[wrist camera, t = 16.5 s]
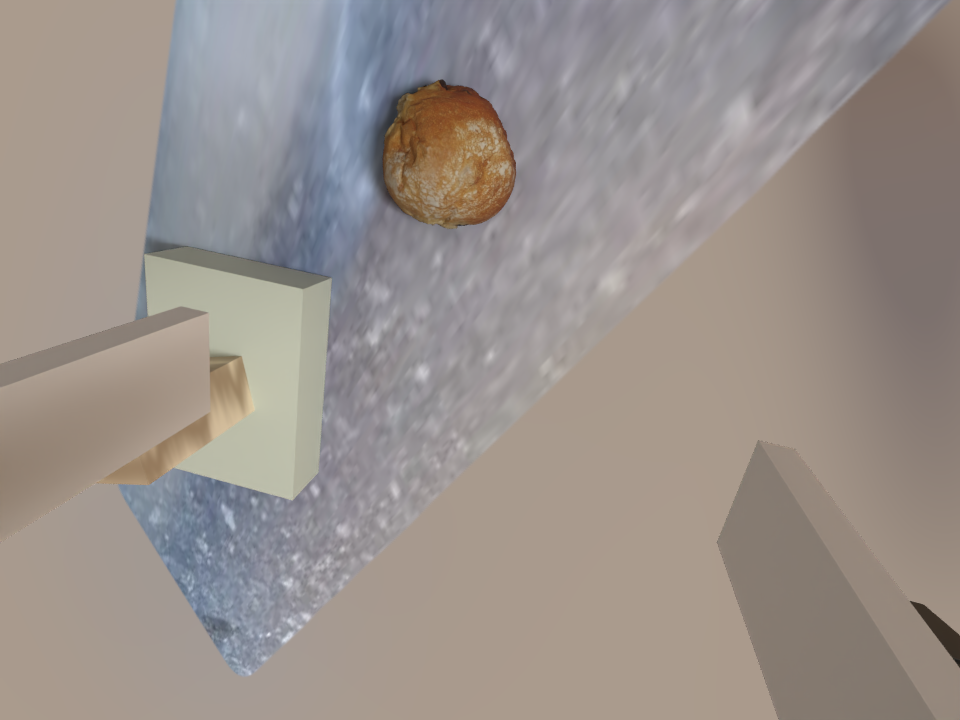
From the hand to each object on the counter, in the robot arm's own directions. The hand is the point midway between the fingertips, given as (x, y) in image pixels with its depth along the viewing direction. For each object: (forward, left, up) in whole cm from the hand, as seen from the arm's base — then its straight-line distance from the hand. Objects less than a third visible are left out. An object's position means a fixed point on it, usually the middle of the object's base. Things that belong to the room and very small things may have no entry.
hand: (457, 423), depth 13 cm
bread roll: (-5, -9, -32) cm, 34 cm away
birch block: (+16, -25, -27) cm, 40 cm away
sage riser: (+16, -25, -32) cm, 43 cm away
